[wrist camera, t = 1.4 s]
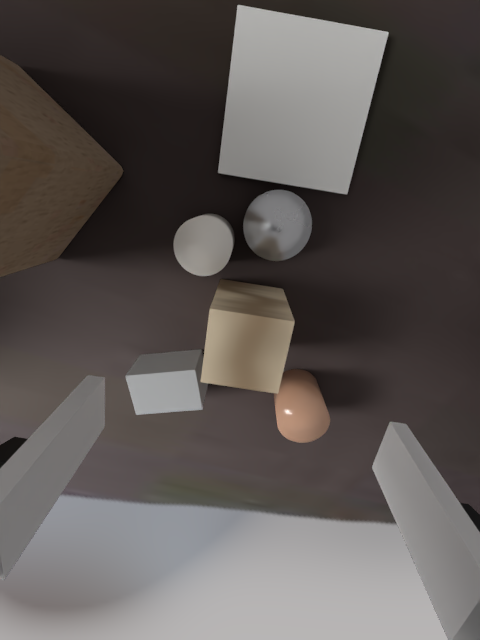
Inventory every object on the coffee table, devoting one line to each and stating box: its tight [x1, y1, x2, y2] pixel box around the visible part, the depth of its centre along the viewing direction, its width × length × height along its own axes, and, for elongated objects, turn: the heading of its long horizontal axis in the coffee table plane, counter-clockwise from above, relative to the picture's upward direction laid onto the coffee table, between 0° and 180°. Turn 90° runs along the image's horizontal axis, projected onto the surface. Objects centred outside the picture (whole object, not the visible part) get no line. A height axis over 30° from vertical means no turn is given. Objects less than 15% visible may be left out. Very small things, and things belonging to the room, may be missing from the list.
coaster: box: [218, 5, 389, 195], centre depth 23 cm, size 10×10×1 cm
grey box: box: [126, 349, 208, 415], centre depth 29 cm, size 6×4×4 cm, turn 97°
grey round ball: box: [243, 190, 312, 261], centre depth 25 cm, size 5×5×3 cm
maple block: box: [201, 279, 295, 394], centre depth 25 cm, size 6×6×8 cm
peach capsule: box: [274, 369, 330, 443], centre depth 29 cm, size 4×4×5 cm
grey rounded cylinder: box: [173, 213, 235, 276], centre depth 24 cm, size 4×4×5 cm
